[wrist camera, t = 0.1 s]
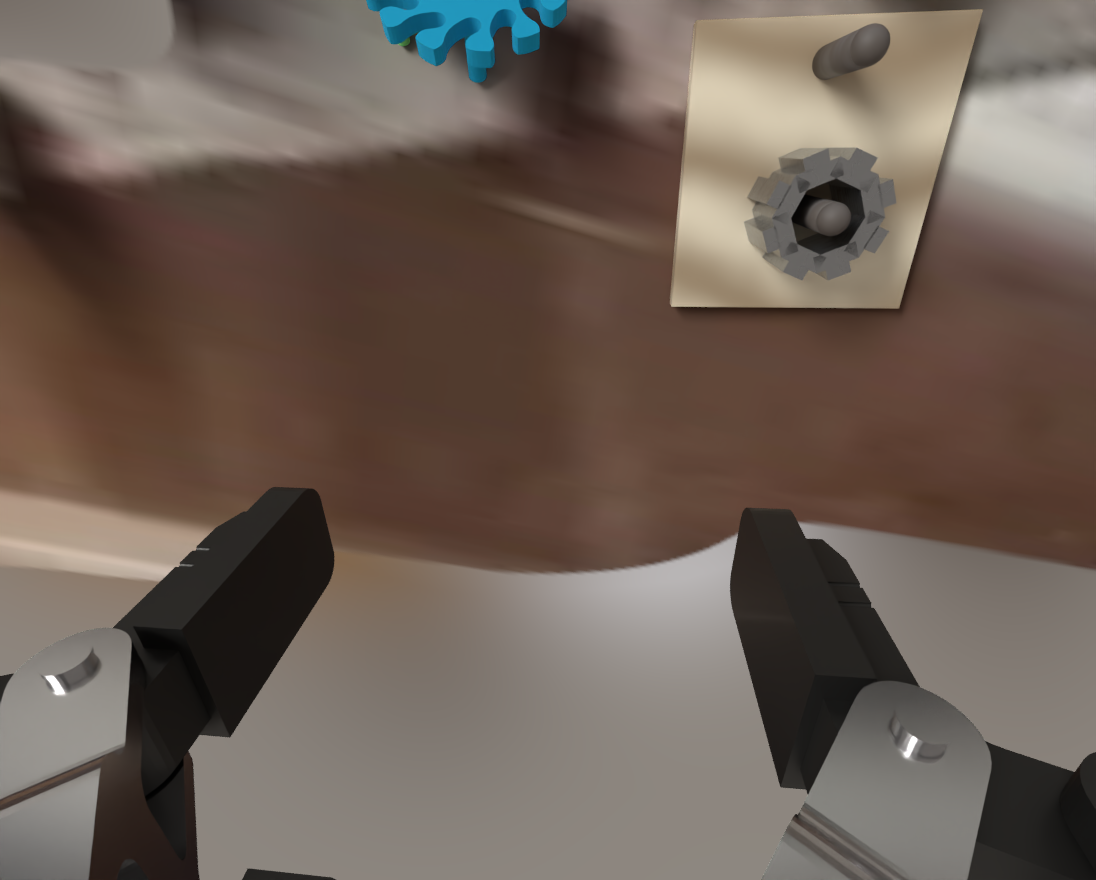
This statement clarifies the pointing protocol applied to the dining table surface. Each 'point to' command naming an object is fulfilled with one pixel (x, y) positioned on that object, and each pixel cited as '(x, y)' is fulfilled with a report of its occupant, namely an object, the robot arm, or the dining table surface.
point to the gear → (847, 186)
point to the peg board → (812, 144)
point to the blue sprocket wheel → (465, 26)
